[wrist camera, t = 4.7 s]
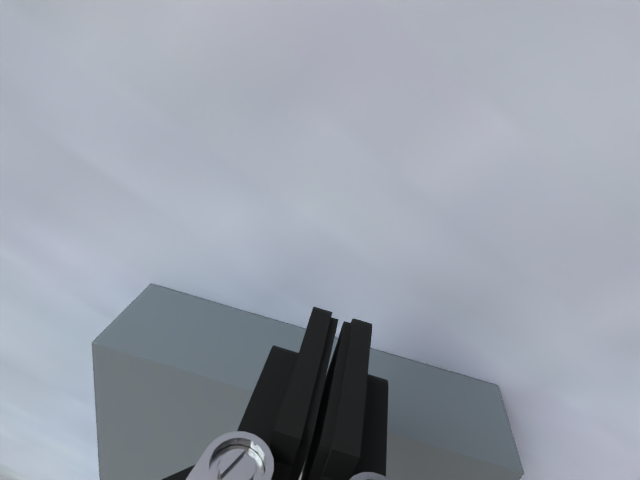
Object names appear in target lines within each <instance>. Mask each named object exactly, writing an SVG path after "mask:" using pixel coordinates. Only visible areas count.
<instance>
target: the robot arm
mask: <svg viewBox="0 0 640 480" xmlns="http://www.w3.org/2000/svg"><path fill="white" fill-rule="evenodd" d="M331 315H332V312H330V311H327V310H323V309H320V308H317V307H313V310H312V313H311V316H310V319H309V323H308V326H307V329H306V332H305V335H304V338H303V341H302V344H301V347H300V351H299V353H298V352H294V351H291V350H288V349H284V348H281V347H278V346H275V345H273V346H272V348H271V350H270V353H269V355H268V357H267V360H266V362H265V365H264V367H263V370H262V372H261V374H260V377H259V379H258V382H257V384H256V386H255V389H254V391H253V394H252V396H251V398H250V401H249V403H248V406H247V408H246V410H245V413H244V415H243V418H242V420H241V422H240V425H239V427H238V430H237V431H233V432H230V433H226V434H223V435H221V436H220V437H218V438H216V439H215V440H213V442H212V443H211V444H210V445H209V446H208V447H207V448H206V450H205V451H204V453H203V454H202V456H201V457H200V459H199V460H198V462H197V463H196V464H195V465H193V466H191V467H188V468H186V469H184V470H182V471H180V472H177V473H175V474H173V475H171V476H168V477H166V478H164V479H162V480H299V477H300V474H301V471H302V469H303V473H302V477H301V480H390V479H388V478H386V456H387V422H388V388H389V387H388V380H386V379H383V378H380V377H376V376H373V375H370V374H368V366H369V355H370V345H371V334H372V324H370V323H367V322H364V321H360V320H357V319H352V321H351V323H348V322H345V321H344V323H343V326H342V329H341V332H340V335H339V338H338V341H337V344H336V347H335V350H334V353H333V356H332V359H331V362H330V365H329V360H330V356H331V351H332V346H333V342H334V337H335V333H336V328H337V323H338V319H335V318H332V317H331ZM328 365H329V368H328ZM327 369H328V371H327ZM304 463H305V464H304ZM303 466H304V468H303Z"/></svg>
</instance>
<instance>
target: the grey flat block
mask: <svg viewBox="0 0 640 480" xmlns="http://www.w3.org/2000/svg"><path fill="white" fill-rule="evenodd" d="M305 332H306V329H303V328H300V327H297V326H293V325H290V324H286V323H283V322H280V321H276V320H273V319H269V318H266V317H263V316H259V315H256V314H252V313H249V312H246V311H242V310H239V309H235V308H232V307H229V306H225V305H222V304H218V303H215V302H212V301H208V300H205V299H201V298H198V297H195V296H191V295H188V294H184V293H181V292H178V291H174V290H171V289H167V288H164V287H161V286H157V285H154V284H150V285H149V286H148V287H147V288H146V289H145V290H144V291H143V292H142V293H141V294H140V295H139V296H138V297H137V298H136V299H135V300H134V301H133V302H132V303H131V304H130V305H129V306H128V307H127V308H126V309H125V310H124V311H123V312H122V313H121V314H120V315H119V316H118V317H117V318H116V319H115V320H114V321H113V322H112V323H111V324H110V325H109V326H108V327H107V328H106V329H105V330H104V331H103V332H102V333H101V334H100V335H99V336H98V337H97V338H96V339H95V340H94V341H93V342H92V354H93V371H94V388H95V406H96V423H97V440H98V457H99V475H100V480H162V479H164V478H166V477H168V476H171V475H173V474H175V473H177V472H180V471H182V470H184V469H186V468H188V467H191V466H193V465H195V464H196V463H197V462H198V460H199V459H200V457H201V456H202V454H203V453H204V451H205V450H206V448H207V447H208V446H209V445H210V444H211V443H212V442H213V440H215V439H216V438H218V437H220V436H221V435H223V434H226V433H230V432H233V431H237V430H238V427H239V425H240V422H241V420H242V418H243V415H244V413H245V410H246V408H247V406H248V403H249V401H250V398H251V396H252V394H253V391H254V389H255V386H256V384H257V382H258V379H259V377H260V374H261V372H262V370H263V367H264V365H265V362H266V360H267V357H268V355H269V353H270V350H271V348H272V346H273V345H275V346H278V347H281V348H284V349H288V350H291V351H294V352H298V353H299V351H300V347H301V344H302V341H303V338H304V335H305ZM337 341H338V339H337V338H334V342H333V346H332V351H331V356H330V360H329V365H330V362H331V359H332V356H333V353H334V350H335V347H336V344H337ZM329 365H328V368H329ZM327 371H328V369H327ZM368 374H370V375H373V376H376V377H380V378H383V379H386V380H388V387H389V388H388V422H387V456H386V478H388V479H390V480H519V479H520V478H521V477H522V475H523V474H524V471H523V468H522V465H521V461H520V458H519V455H518V451H517V448H516V445H515V441H514V438H513V434H512V431H511V428H510V424H509V421H508V418H507V414H506V411H505V408H504V404H503V401H502V398H501V394H500V391H499V387H498V386H497V385H494V384H491V383H487V382H484V381H480V380H477V379H473V378H470V377H467V376H463V375H460V374H456V373H453V372H450V371H446V370H443V369H439V368H436V367H433V366H429V365H426V364H422V363H419V362H416V361H412V360H409V359H405V358H402V357H399V356H395V355H392V354H388V353H385V352H382V351H378V350H375V349H371V348H370V355H369V366H368ZM304 464H305V463H304ZM303 468H304V466H303ZM301 472H302V473H303V469H302V471H301Z"/></svg>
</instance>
